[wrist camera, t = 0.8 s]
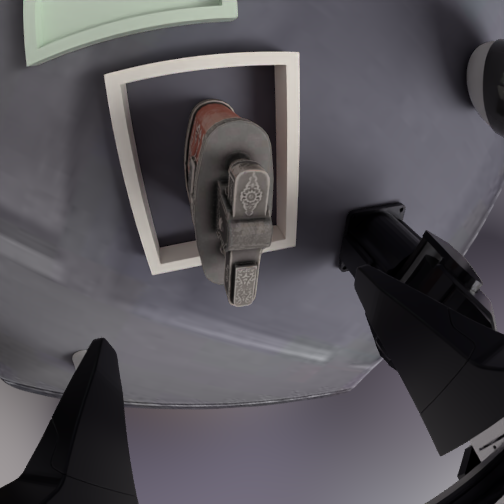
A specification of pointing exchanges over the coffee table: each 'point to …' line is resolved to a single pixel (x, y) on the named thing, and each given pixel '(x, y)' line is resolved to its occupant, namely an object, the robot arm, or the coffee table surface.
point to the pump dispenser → (488, 83)
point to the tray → (108, 21)
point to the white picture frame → (285, 148)
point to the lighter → (229, 196)
